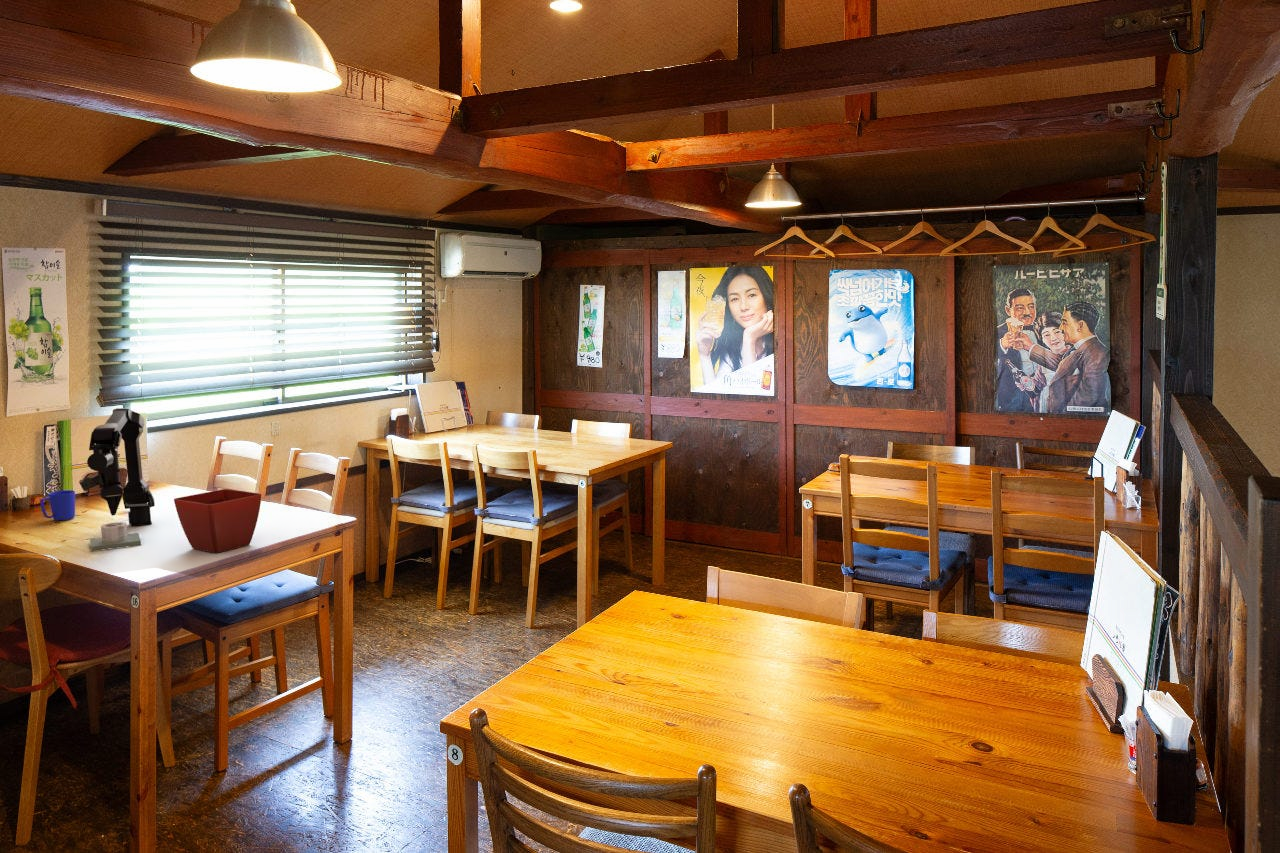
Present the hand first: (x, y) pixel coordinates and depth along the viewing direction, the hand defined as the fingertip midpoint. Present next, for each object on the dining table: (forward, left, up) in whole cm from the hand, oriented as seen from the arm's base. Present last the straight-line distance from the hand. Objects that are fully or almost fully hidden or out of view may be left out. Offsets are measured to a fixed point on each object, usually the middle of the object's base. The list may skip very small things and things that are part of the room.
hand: (112, 512), depth 297 cm
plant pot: (-29, +23, -11) cm, 39 cm away
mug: (+16, -50, -11) cm, 54 cm away
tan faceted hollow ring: (0, 0, -9) cm, 9 cm away
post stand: (0, 0, -11) cm, 11 cm away
